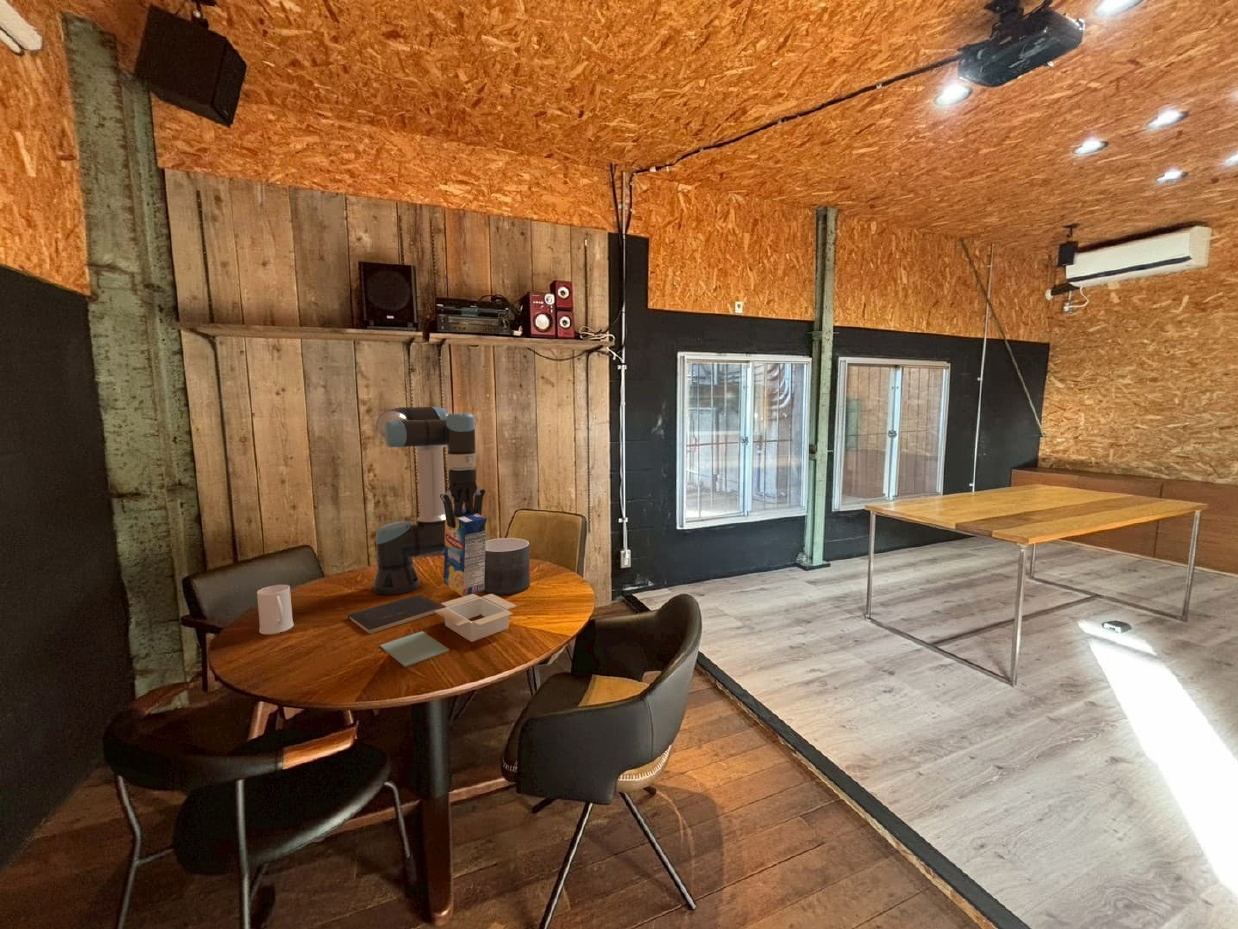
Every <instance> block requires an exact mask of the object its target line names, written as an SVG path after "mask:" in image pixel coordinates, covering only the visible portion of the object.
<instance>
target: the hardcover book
mask: <svg viewBox="0 0 1238 929" xmlns="http://www.w3.org/2000/svg"><path fill="white" fill-rule="evenodd" d="M443 607H444V606H443V605H441V603H438V602H436V601H434V600H432V599H430V598H429V597H427V596H425V595H423V594H421V593H419V594H416V595H412V596H408V597H405V598H401V599H397V600H395V601H394V600H393V601H392V602H391V601H390V602H387V603H384V604H380V605H377V606H373V607H370V608H366V609H363V610H359V611H356V612H352V613H349V614H348V615H347V617H348V618H347V619H348V620H350V619H351V620H350V621H351V622H353V623H355V625H357V626H358V627H360V628H361V629H362V630H363V631H365V632H366V633H367V634H368V635H371V634H374V633H377V632H380V631H384V630H387V629H390V628H393V627H395V626H399V625H403V624H405V623H409V622H412V621H415V620H418V619H421V618H422V619H423V618H425V617H427V616H431V615H434V614H436V613H435V612H434V611H436V610H439V609H442V608H443Z"/></svg>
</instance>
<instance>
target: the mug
mask: <svg viewBox="0 0 1238 929" xmlns="http://www.w3.org/2000/svg"><path fill="white" fill-rule="evenodd" d="M256 595H257V597H256V598H257V599H256V600H257V606H258V608H257V610H258V619H259V621H258V622H259V630H258V631H259V634H262V635H276V634H280V632H281V633H284V632H286V631H289V630H291V629H292V628H294V626H295V625H294V624H295V623H294V620H293V611H292V610H293V608H292V598H291V586H290V585H288V584H274V585H269V586H265V587H262V588H260V589H258V590H257V591H256Z"/></svg>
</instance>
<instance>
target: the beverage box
mask: <svg viewBox="0 0 1238 929" xmlns="http://www.w3.org/2000/svg"><path fill="white" fill-rule="evenodd" d="M453 513H454V510H453ZM454 519H455V524H456V527H455V528H452V527H449V526H448V525H447V520H446V514H445V549H444V553H443V554H444V555H443V556H444V557H443V560H444V561H443V584H444V585H446V586H447V587H448V588H449V589H451V590H453V591H454V592H456V593H457V594H458V595H460V596H461V597H464V596H467V595H471V594H477V593H479V592H480V593H481V592H482V591H483V590H484V580H485V555H486V541H487V527H488V526H487V524H488V518H487V517H485V516H484V515H482V514H481V515H479V514H477V513H475V512H474V514H471V515H470V514H468V513H466V510H465V508H462V516H460V517H458V516H456V515H454Z"/></svg>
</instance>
